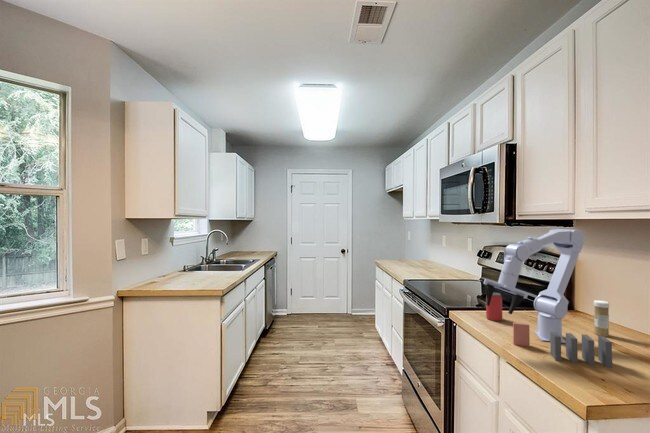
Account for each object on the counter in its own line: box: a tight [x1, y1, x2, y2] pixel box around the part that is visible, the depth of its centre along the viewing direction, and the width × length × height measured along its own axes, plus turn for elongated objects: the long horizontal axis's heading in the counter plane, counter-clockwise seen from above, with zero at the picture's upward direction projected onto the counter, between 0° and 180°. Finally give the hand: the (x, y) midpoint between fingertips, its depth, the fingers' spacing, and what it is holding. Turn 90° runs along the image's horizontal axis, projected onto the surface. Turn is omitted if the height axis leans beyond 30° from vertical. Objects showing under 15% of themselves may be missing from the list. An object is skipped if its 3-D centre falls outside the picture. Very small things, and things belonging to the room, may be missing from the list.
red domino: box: [512, 321, 531, 348], centre depth 116 cm, size 2×5×8 cm, turn 70°
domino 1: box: [549, 331, 562, 362], centre depth 106 cm, size 2×5×8 cm, turn 160°
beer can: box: [485, 291, 503, 322], centre depth 144 cm, size 7×7×12 cm
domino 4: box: [597, 335, 613, 368], centre depth 101 cm, size 2×5×8 cm, turn 160°
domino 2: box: [565, 332, 579, 364], centre depth 104 cm, size 2×5×8 cm, turn 159°
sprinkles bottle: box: [593, 299, 610, 338], centre depth 124 cm, size 5×5×13 cm
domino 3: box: [581, 334, 596, 366], centre depth 103 cm, size 2×5×8 cm, turn 160°
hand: (498, 309), depth 115 cm, fingers open, 7 cm apart
